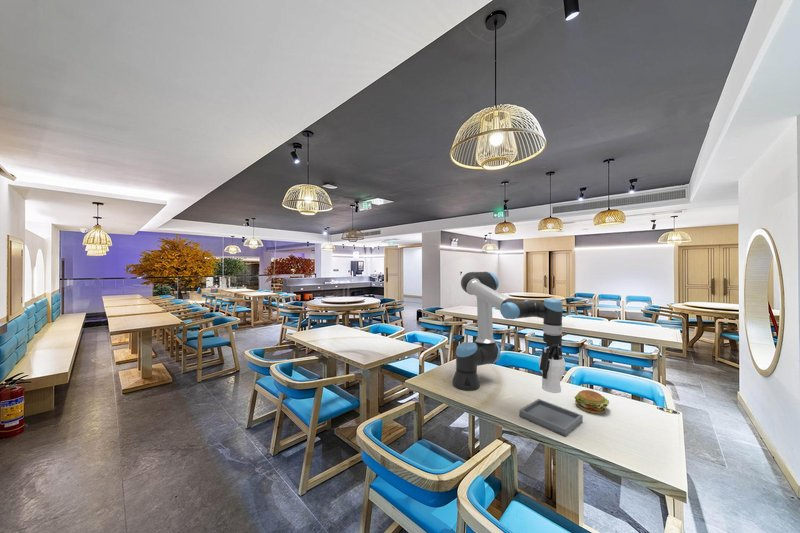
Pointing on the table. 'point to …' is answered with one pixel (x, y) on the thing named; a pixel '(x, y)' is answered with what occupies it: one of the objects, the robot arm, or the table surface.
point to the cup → (554, 374)
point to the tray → (551, 417)
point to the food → (591, 401)
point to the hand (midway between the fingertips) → (551, 382)
